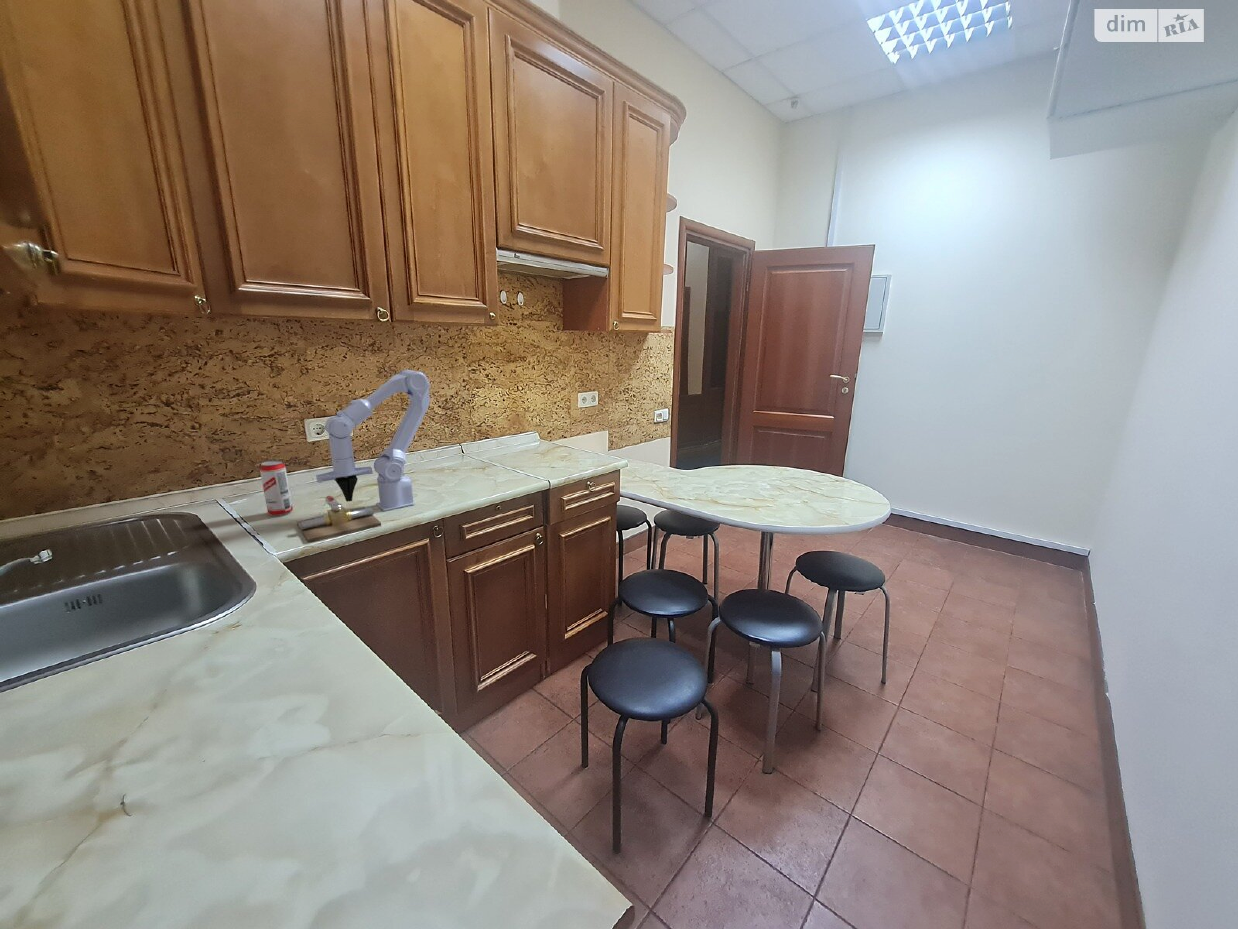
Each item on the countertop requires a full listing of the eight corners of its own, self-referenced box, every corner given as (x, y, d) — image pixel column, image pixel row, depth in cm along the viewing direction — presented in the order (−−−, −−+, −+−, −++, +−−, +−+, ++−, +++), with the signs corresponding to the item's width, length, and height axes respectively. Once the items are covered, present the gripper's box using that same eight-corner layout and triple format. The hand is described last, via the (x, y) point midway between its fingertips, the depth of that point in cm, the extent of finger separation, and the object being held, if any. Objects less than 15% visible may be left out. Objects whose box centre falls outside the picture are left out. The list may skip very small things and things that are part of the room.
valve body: (370, 514, 144) (368, 500, 143) (374, 518, 141) (372, 504, 140) (300, 529, 132) (298, 515, 131) (303, 534, 129) (301, 519, 128)
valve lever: (343, 510, 135) (342, 504, 135) (332, 512, 134) (331, 506, 133) (333, 499, 143) (332, 494, 143) (323, 501, 141) (322, 496, 141)
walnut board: (365, 510, 148) (364, 507, 148) (381, 525, 137) (380, 522, 136) (296, 524, 136) (296, 521, 136) (308, 543, 125) (307, 539, 125)
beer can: (280, 518, 141) (271, 466, 136) (263, 516, 142) (252, 464, 138) (298, 510, 147) (289, 460, 142) (281, 508, 148) (272, 459, 144)
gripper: (365, 450, 147) (370, 492, 151) (311, 458, 138) (318, 502, 141) (372, 455, 142) (377, 497, 146) (316, 463, 133) (323, 508, 136)
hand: (348, 500), depth 143 cm, fingers closed
